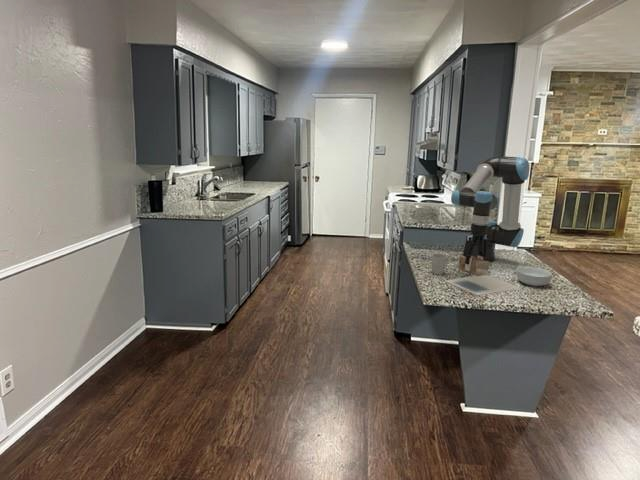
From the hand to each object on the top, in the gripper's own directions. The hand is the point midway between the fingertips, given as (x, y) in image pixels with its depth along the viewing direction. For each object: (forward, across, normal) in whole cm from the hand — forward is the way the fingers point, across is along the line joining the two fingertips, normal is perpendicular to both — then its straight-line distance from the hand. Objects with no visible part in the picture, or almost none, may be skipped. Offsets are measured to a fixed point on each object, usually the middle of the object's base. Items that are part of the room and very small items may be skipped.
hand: (472, 269), depth 219 cm
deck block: (+1, 0, 0) cm, 1 cm away
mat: (+9, +8, 0) cm, 12 cm away
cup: (+9, -1, +22) cm, 24 cm away
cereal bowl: (+9, +35, -9) cm, 37 cm away
